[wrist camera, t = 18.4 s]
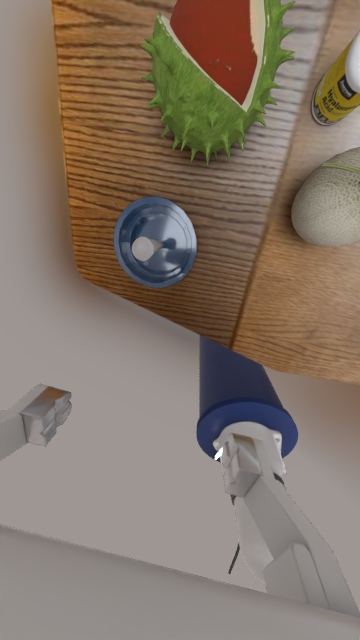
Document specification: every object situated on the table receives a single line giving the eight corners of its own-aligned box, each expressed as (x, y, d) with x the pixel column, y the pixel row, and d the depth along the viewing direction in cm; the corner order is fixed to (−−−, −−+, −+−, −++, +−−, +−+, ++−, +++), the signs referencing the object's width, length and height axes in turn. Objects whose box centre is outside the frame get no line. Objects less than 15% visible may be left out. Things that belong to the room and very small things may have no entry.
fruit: (309, 147, 26) (430, 48, 12) (370, 193, 27) (538, 149, 14) (260, 220, 30) (311, 206, 17) (315, 257, 32) (403, 272, 18)
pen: (171, 244, 32) (153, 248, 19) (162, 256, 33) (139, 267, 20) (160, 234, 32) (134, 231, 19) (151, 246, 33) (120, 252, 20)
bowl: (206, 266, 34) (207, 271, 28) (145, 289, 37) (136, 298, 31) (181, 190, 30) (178, 179, 24) (115, 223, 32) (98, 219, 27)
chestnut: (87, 47, 18) (201, -311, 10) (167, 135, 30) (248, 5, 22) (170, 165, 17) (378, -137, 9) (219, 208, 29) (325, 98, 21)
